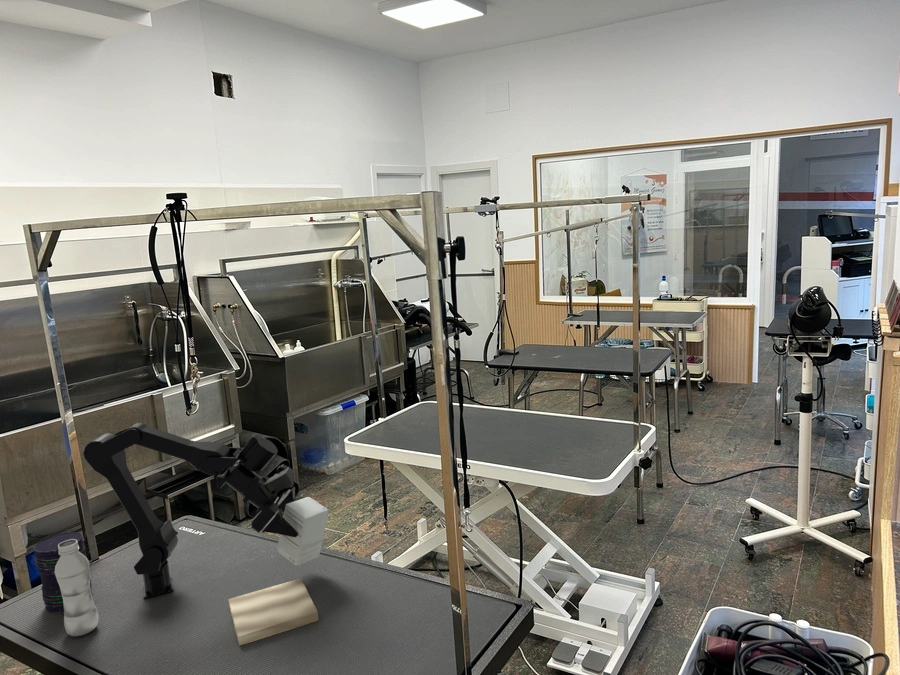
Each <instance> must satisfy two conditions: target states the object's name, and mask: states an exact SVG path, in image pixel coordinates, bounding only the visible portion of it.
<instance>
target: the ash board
mask: <svg viewBox="0 0 900 675" xmlns="http://www.w3.org/2000/svg"><path fill="white" fill-rule="evenodd" d="M227 600H228V607H229V610H230V615H231V619H232V622H233V626H234V631H235V634H236V639H237V642H238V646H243V645H246V644H249V643H250V644H251V643H252V642H256V641H259V640H262V639H265V638H268V637H272V636H275V635H278V634H281V633H283V632H287V631H291V630H294V629H297V628H299V627H303V626H306V625H309V624H312V623H315V622H318V621H319V614H318V613H319V612H318V610H317V607H316V606H315V604H314V602H313V600H312V598H311V596H310V594H309V592H308V589H307V588H306V586H305V584H304V582H303V579H302V578H297V579H294V580H290V581H287V582H283V583H280V584H276V585H272V586H269V587H266V588H263V589H259V590H254V591H251V592H249V593H245V594H242V595H241V594H240V595H238V596H233V597H231V598H228V599H227Z"/></svg>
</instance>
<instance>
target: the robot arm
mask: <svg viewBox="0 0 900 675" xmlns="http://www.w3.org/2000/svg"><path fill="white" fill-rule="evenodd" d="M134 445H135V446H140V447H144V448H146V449H150V450H152V451H156V452H159V453H162V454H165V455H169V456H171V457H174V458H177V459H181V460H183V461H186V462H188V463H189V464H190V465H191V466H192V467H193V468H195V469H197V470H198V471H200V472H202V473H204V474H206V475H208V476H216V483H217V484H216V485H217V486H216V488H217V489H218V490H221V488H222V487H223V486H224V485H225V484H227V485H228V486H229V487H230V488H232V489H233V490H234V491H235V492H237V493H238V494H239V495H241V496H242V497H243V498H242V502H243V503H245V504H247V502H249V503H250V504H252V505H253V506H254V507H255V508H256V509H257V510H256V513H257V514H256V515H255V517H254V518H253V519H252V521H251V522H250V524H251V529H253V531H255V533H257V534H259V533H260V532H261V533H263V534H264V533H270V534H277V535H280V534H281V535H286V536H290V537H297V535H298V532H297V531H296V530H295V529H294V528H293V527H292V526H291V525H290V524H289V523H288V522H287V521H286V520H285V519H284V518H283V517H284V515H283V513H284V512H285V507H286V504H288V503H291V502H294V501H297V500H298V499H297V498H296V496H295V495H296V492H295V491H296V487H295V486H294V485H295V482H294V481H297V480H296V479H297V478H296V476H295V475H294V474H293V473H294V469H293V468H291V467H290V466H287V465H286V464H281V465H279V466H278V467H277V468H276V473H275V474H274V475H273V476H271V477H269V476H267V475H264V474H263V475H262V476H260V475H258V474H257V473H256V472H261V471H263V469H265V467H267V466H268V464H269V463H270V462H271V461H272V460H273V458H274V457H275V456H276V455H277V454H278V452H279V451H278V448H277V446H276V445H275V444H274V443H273V442H272V441H271V440H269V439H266V438H264V437H263V436H258V435H257V434H253V435H252V436H251V438H250V439H249V440H248V442H247V444H245V446H244V447H232V446H228V445H226V444H224V443H222V442H221V443H220V442H215V441H214V442H212V441H196V440H192V439H188V438H185V437H182V436H180V435H176V434H174V433H173V434H172V433H170V432H166V431H164V430H161V429H158V428H155V427H151V426H148V425H147V424H146V423H143V422H137V423H135V424H133V425H131V426H130V427H127V428H124V429H123V430H120V431H118V432H115V433H114V434H113V433H109V432H108V433H103V434H101V435H100V436H98V437H96V438H95V439H94V440H92V441H90V442H89V443H87V444H86V446H84V450H83V452H82V454H83V458H84V460H85V461H86V463H87V464H88V465H89V466H90V467H91V468H92V469H93V471H95V473H98V474H99V475H101V476H102V477H104V478H105V479H106V480H107V482H108V484H109V485H110V486H111V489H112V490H113V492H114V493H115V495H116V497H117V499H118V500H119V502H120V504H121V505H122V507H123V509H124V510H125V512H126V514H127V515H128V517H129V518H130V520H131V522H132V524H133V525H134V527H135V529H136V531H137V535H138V536H137V538H138V547H139V548H140V551H141V554H142V556H141V558H140V559H139V560H138V561H137V562H136V563H135V564H134V566H133V569H134V571H135V572H136V574H137V575H140V576H141V575H142V579H143V586H142V588H143V589H142V591H143V592H142V594H143V595H142V597H143V599H144V600H145V599H149V598H153V597H156V596H160V594H161V595H164V594H167V593H171V592H174V590H175V586H174V579H173V577H171V573H170V567H169V561H168V559H169V558H170V557H171V555H172V553H173V551H174V550H175V549H176V548H177V545H178V542H179V539H178V536H177V535H179V532H178V531H177V530H176V529H175V528H174V525H173V523H172V522H171V520H170V519H168V520H166V521H165V522H164V521H162V520H161V519H159V518H158V516H156V513H155V512H154V510H153V509H152V506H151V505H150V503H149V502H148V500H147V498H146V497H145V495H144V493H143V492H142V490H141V488H140V487H139V485H138V482H136V480H135V478H134V476H133V474H132V472H131V471H130V469H129V468H128V467H129V466H128V465H127V456H126V455H127V454H126V449H128V448H130V447H132V446H134ZM238 461H239V463H238V464H237V465H235V464H236V463H237V462H238ZM224 470H226V471H225V472H224V473H222V472H223V471H224ZM221 473H222V474H221Z"/></svg>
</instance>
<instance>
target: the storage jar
mask: <svg viewBox="0 0 900 675" xmlns="http://www.w3.org/2000/svg"><path fill="white" fill-rule="evenodd" d="M83 538H84V537H83V534H82V533H81V532H78V531H77V532H76V531H74V532H73V531H72V532H64V533H58V534H56V535H53V536H50V537H47V538H45V539H42V540H41V541H39V542H38V543H36V544H35V545H34V547H33V550H34V553H35V554H34V555H35V563H36V567H37V568H36V569H37V571H38V573H39V575H40V580H41V592H42V594H41V595H42V600H43V602H44V605H45V606H44V608H45V612H46V613H48V614H51V615H59V614H60V615H61V614H64V604H63V598H62V594H61V590H60V586H59V584H58V581H57V578H56V575H55V566H56V564H57V562H58V560H59V558H60V557H61V555H59V553H58V552H59V550H58V545H59V544H60V543H61V542H64V541H66V540H71V539H76V540H77V541H78V546H79V550H78V551H79V552H80V553H82V554H83V555H84V556H86V557H87V553H86V546H85V543H84V540H83ZM89 580H90V588H91V594H92V597H93V598H94V596H93V594H94V593H93V591H92V589H93V588H92V580H91V578H90V575H89Z"/></svg>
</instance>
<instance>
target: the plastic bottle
mask: <svg viewBox="0 0 900 675" xmlns="http://www.w3.org/2000/svg"><path fill="white" fill-rule="evenodd" d="M58 550H59V552H58V553H59V555H61V557H60V558H59V560H58V562H57V564H56V566H55V575H56V578H57V581H58V584H59V586H60V590H61V594H62V598H63V604H64V613H63V615H64V616H63V627H64V629H65V632H66V633H67V635H69V636H71V637H81V636H84V635H87V634H89V633H91V632H92V631H94V630H95V628H97V626H98V624H99V612H98V609H97V607H96V604H95V602H94V596H93V597H92V594H91V591H92V590H91V588H90V580H91V579H90V580H89V576H90V561H89V558H87V555H86V556H84V555H83V554H82V553H80V552H79V551H78V550H79V546H78V541H77V540H76V539H71V540H66V541H64V542H61V543H60V544H59V545H58Z"/></svg>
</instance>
